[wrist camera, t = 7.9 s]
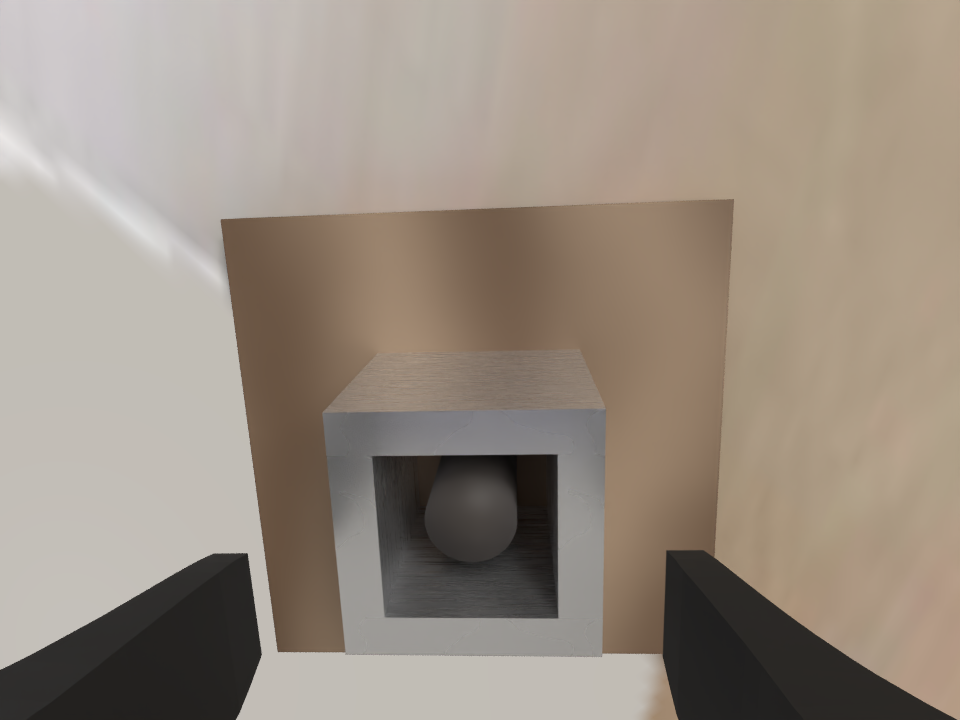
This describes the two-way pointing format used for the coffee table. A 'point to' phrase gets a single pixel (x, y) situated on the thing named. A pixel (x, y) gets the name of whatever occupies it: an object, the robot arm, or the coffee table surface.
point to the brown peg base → (489, 327)
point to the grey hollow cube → (401, 520)
